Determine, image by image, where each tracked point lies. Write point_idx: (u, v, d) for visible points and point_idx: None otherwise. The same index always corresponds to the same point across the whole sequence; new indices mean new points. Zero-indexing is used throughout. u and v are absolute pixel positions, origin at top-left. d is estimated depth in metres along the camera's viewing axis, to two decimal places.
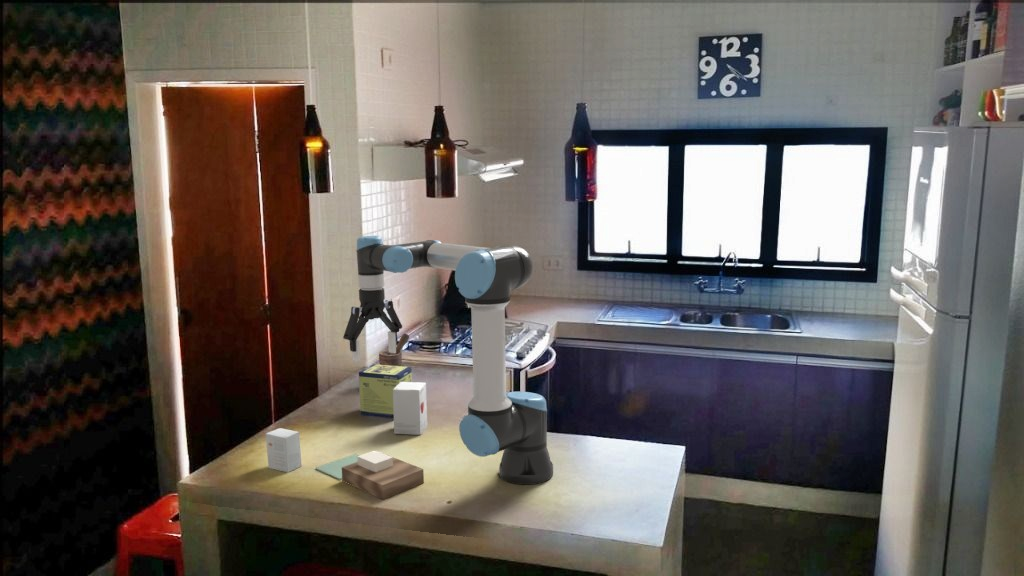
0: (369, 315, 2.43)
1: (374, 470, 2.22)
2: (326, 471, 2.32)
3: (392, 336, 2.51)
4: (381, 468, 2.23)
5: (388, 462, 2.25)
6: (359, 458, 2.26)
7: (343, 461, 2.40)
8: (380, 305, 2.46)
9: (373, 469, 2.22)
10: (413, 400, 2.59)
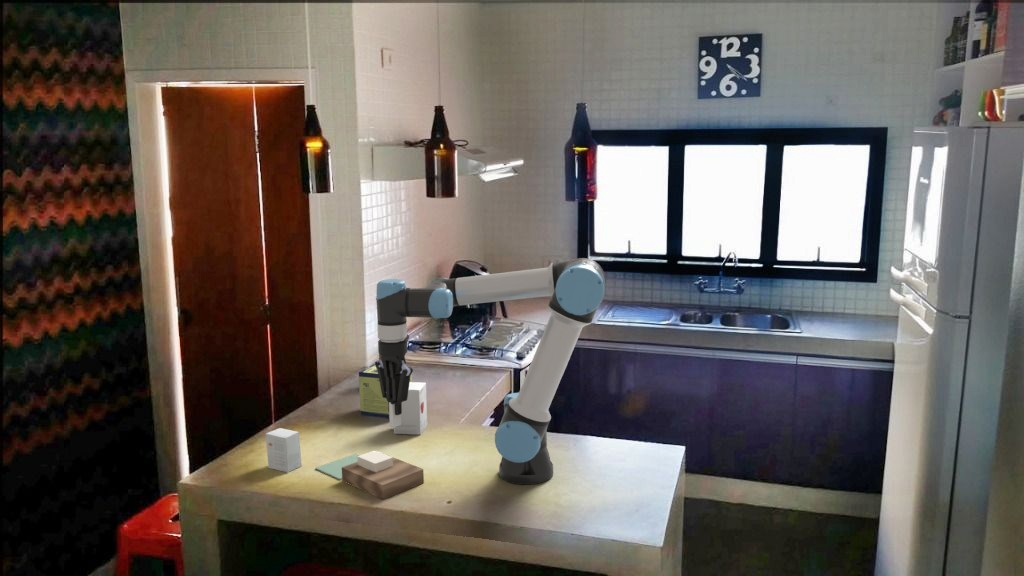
0: (385, 369, 2.15)
1: (374, 470, 2.22)
2: (326, 471, 2.32)
3: None
4: (381, 468, 2.23)
5: (388, 462, 2.25)
6: (359, 458, 2.26)
7: (343, 461, 2.40)
8: (396, 360, 2.12)
9: (373, 469, 2.22)
10: (413, 400, 2.59)
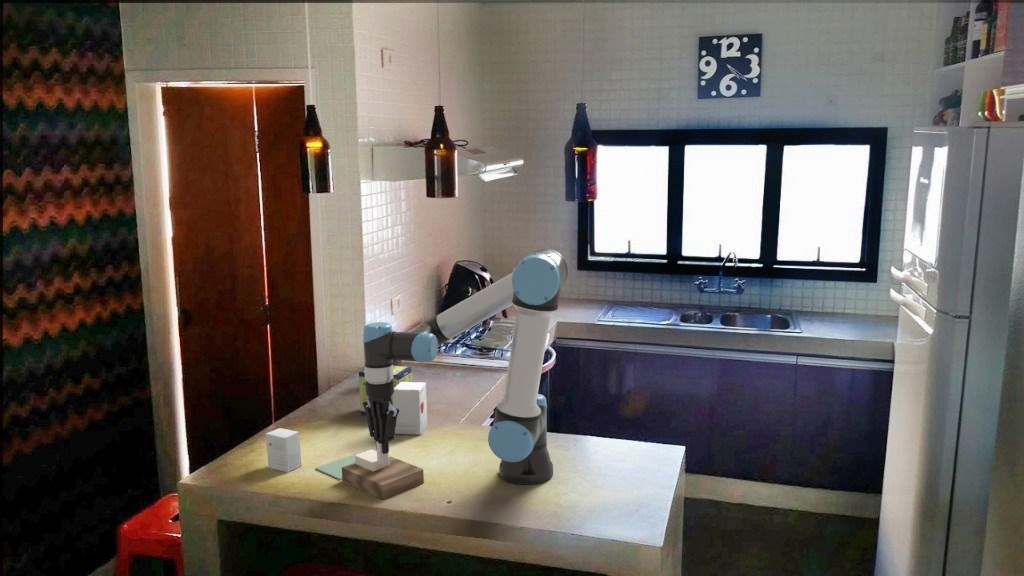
0: (372, 410, 2.21)
1: (371, 469, 2.23)
2: (326, 471, 2.32)
3: None
4: (378, 467, 2.24)
5: None
6: (356, 457, 2.27)
7: (343, 461, 2.40)
8: (383, 401, 2.18)
9: (371, 468, 2.23)
10: (413, 400, 2.59)
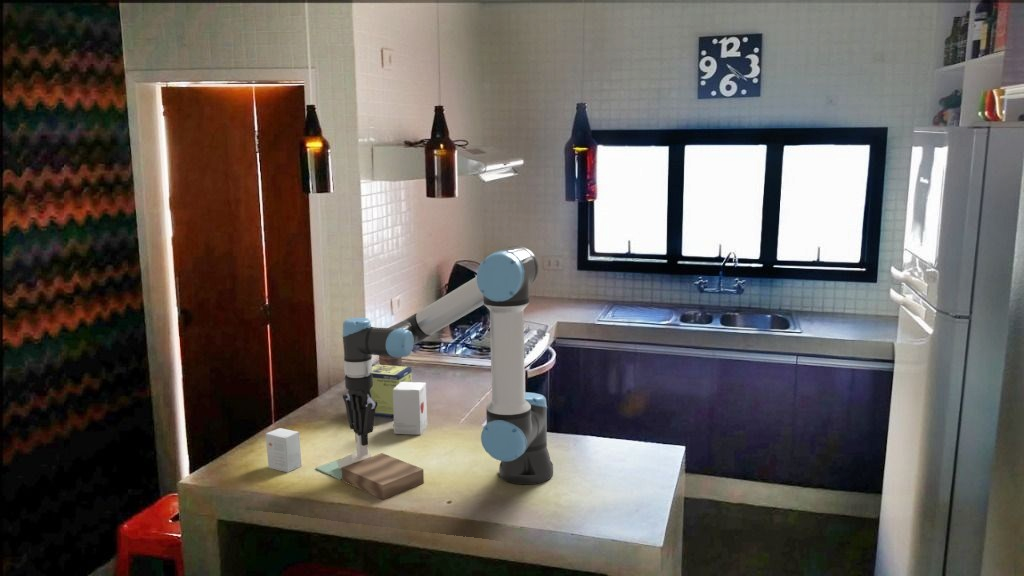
0: (352, 403, 2.27)
1: (352, 461, 2.29)
2: (326, 471, 2.32)
3: None
4: (358, 459, 2.30)
5: None
6: (338, 461, 2.33)
7: None
8: (361, 394, 2.24)
9: (351, 461, 2.29)
10: (413, 400, 2.59)
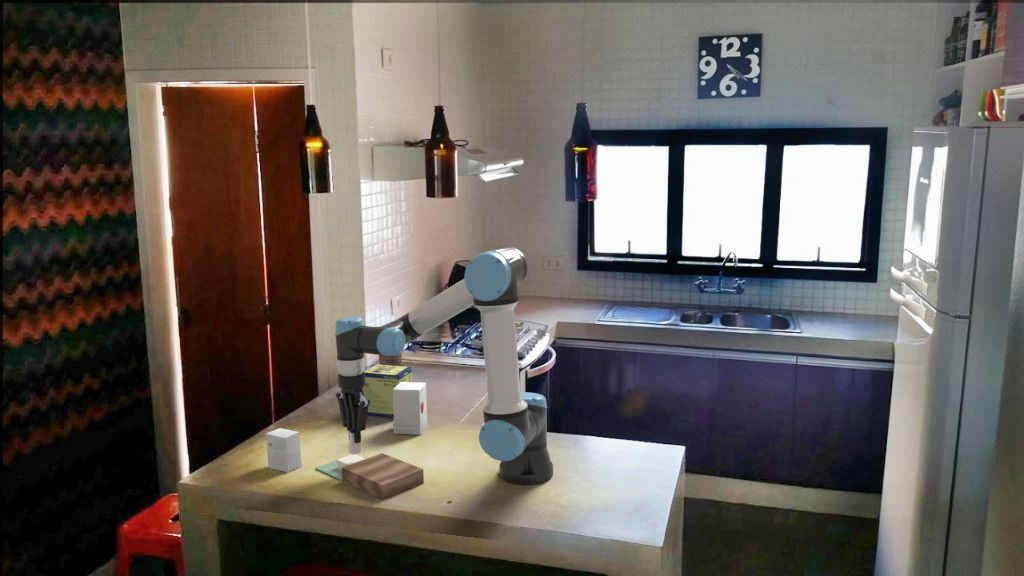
0: (345, 401, 2.30)
1: None
2: (326, 471, 2.32)
3: None
4: None
5: None
6: (338, 461, 2.34)
7: None
8: (354, 392, 2.27)
9: None
10: (413, 400, 2.59)
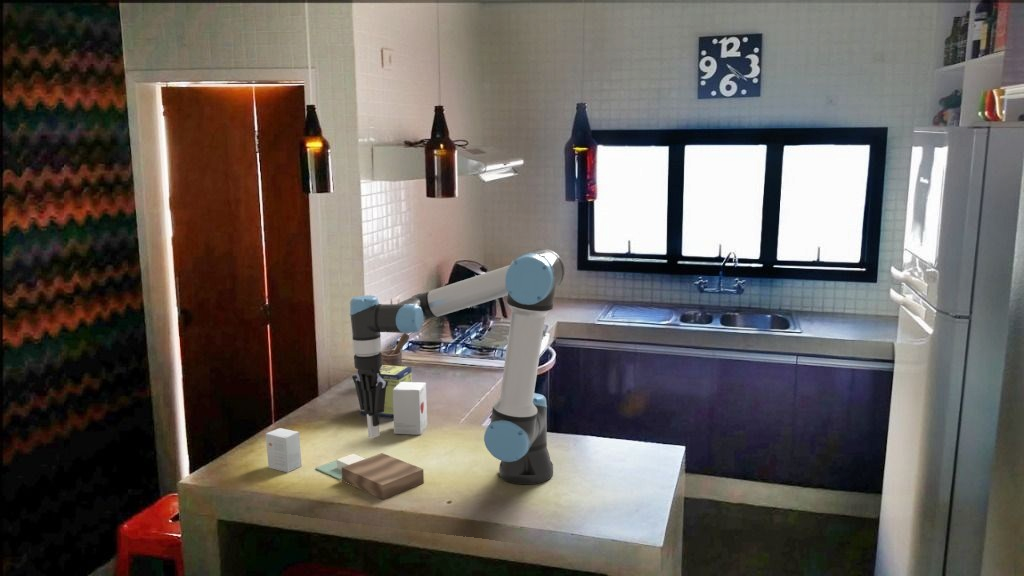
0: (361, 383, 2.23)
1: None
2: (326, 471, 2.32)
3: None
4: None
5: None
6: (338, 461, 2.34)
7: None
8: (371, 373, 2.20)
9: None
10: (413, 400, 2.59)
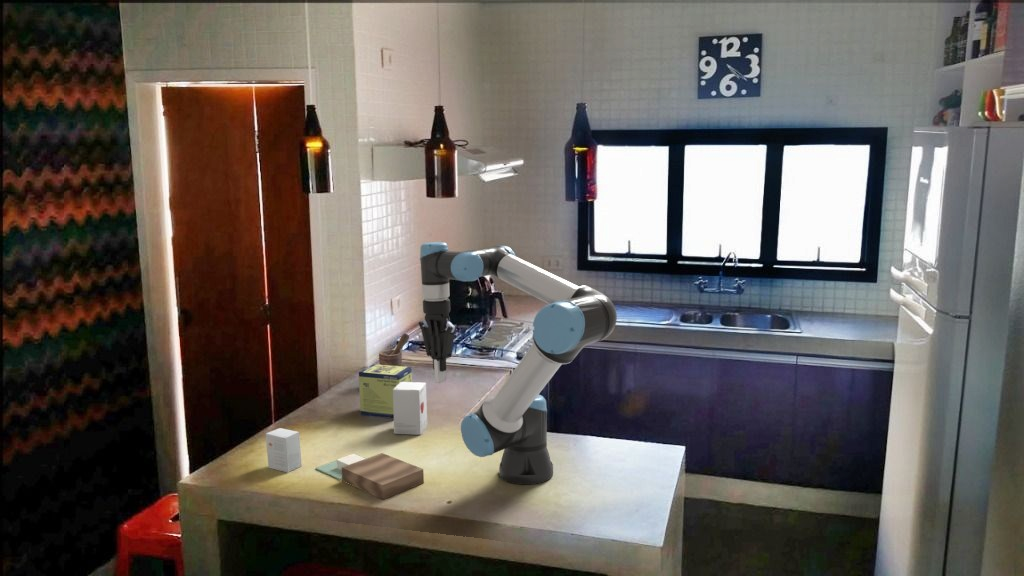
0: (429, 328, 2.26)
1: None
2: (326, 471, 2.32)
3: None
4: None
5: None
6: (338, 461, 2.34)
7: None
8: (440, 318, 2.23)
9: None
10: (413, 400, 2.59)
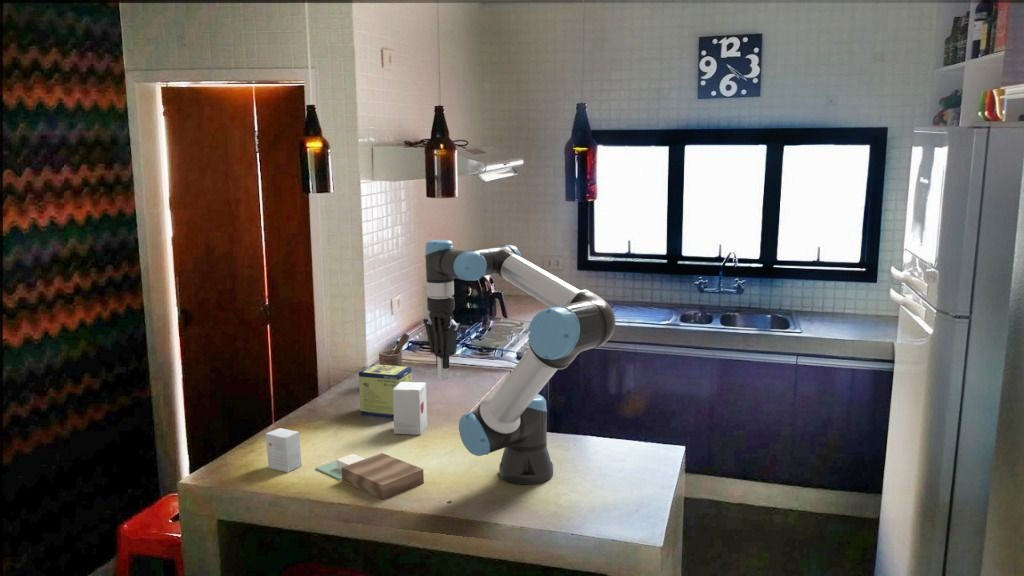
0: (433, 325, 2.27)
1: None
2: (326, 471, 2.32)
3: None
4: None
5: None
6: (338, 461, 2.34)
7: None
8: (444, 316, 2.24)
9: None
10: (413, 400, 2.59)
